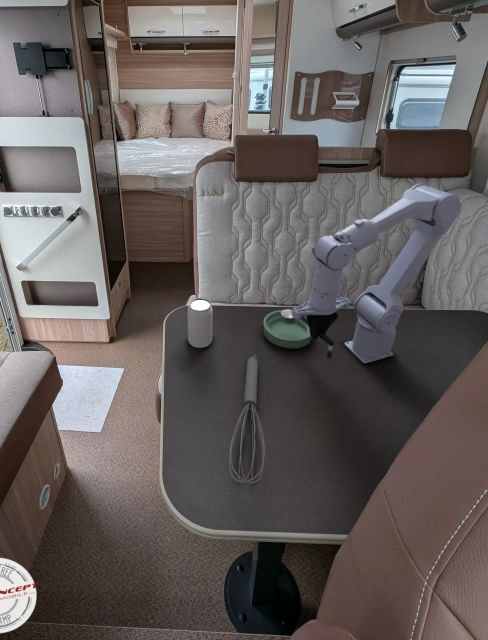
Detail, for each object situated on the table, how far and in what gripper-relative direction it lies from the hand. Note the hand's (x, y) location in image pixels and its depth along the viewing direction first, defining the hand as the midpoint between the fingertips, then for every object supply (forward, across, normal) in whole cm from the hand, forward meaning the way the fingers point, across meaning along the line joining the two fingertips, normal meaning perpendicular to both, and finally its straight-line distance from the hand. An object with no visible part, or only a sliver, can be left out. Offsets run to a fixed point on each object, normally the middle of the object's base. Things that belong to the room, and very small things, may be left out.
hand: (316, 336), depth 88 cm
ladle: (+3, 0, -4) cm, 5 cm away
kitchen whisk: (+8, +22, +9) cm, 25 cm away
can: (+9, +24, -17) cm, 31 cm away
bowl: (+8, 0, -12) cm, 15 cm away
